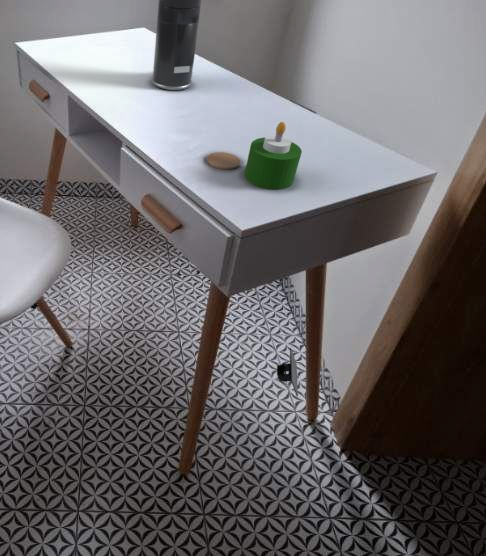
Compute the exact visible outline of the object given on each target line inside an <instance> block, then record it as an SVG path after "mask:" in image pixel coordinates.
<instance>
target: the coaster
mask: <svg viewBox="0 0 486 556" xmlns="http://www.w3.org/2000/svg"><path fill="white" fill-rule="evenodd" d="M206 162H207V164H208V165H209V166H211V167H213V168H216V169H219V170H234V169H237V168H238V167H240V166H241V159H240V158H239V157H238V156H237V155H235V154H233V153H229V152H225V151H216V152H212V153H210V154H208V155H207V156H206Z"/></svg>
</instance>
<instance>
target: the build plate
mask: <svg viewBox="0 0 486 556" xmlns="http://www.w3.org/2000/svg"><path fill="white" fill-rule="evenodd" d="M287 372H288V373H287ZM276 376H277V379H278V382H283V383H285V382H291V384H292V387H293V390H294V393H295V395H296V398H297V397H299V389H298V388H299V387H298V386H299V385H298V366H297V360H296V357H295V355H294V351H293V348H292V347H289V362H288V363H281V364H279V365H278V364H277V365H276Z"/></svg>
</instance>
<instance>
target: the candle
mask: <svg viewBox="0 0 486 556" xmlns="http://www.w3.org/2000/svg"><path fill="white" fill-rule="evenodd" d="M286 129H287V126H286V123H285V122H284V121H280V122H279V123H278V124H277V126H276V128H275V134H270V135H266V136H265V137H258V138H256V139H254V140H252V141H251V143H250V147H249V152H248V157H247V161H246V165H245V169H244V170H245V171H244V178H245V180H247V182H249V183H250V184H252V185H254V186H256V187H258V188H262V189H265V190H274V191H275V190H276V191H277V190H284V189H288V188H290V187H292V186H293V184H294V181H295V177H296V174H297V170H298V167H299V163H300V160H301V157H302V148H301V147H300V146H299V145H298V144H296V143H295V142H293V141H292V140H291V139H289V138H288V137H286V136H284V134H285V132H286Z"/></svg>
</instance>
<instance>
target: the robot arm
mask: <svg viewBox="0 0 486 556" xmlns="http://www.w3.org/2000/svg"><path fill="white" fill-rule="evenodd" d="M201 5H202V0H158V4H157V16H156V17H157V18H156V19H157V20H156V29H155V31H156V32H155V41H154V42H155V44H154V46H155V47H154V55H153V56H154V57H153V66H152V67H153V68H152V69H153V70H152V77H151V83H152V85H153V86H155V87H156V88H159V89H163V90H168V91H184V90H186V89H189V88H190V87H191V86H192V78H193V72H194V71H193V70H194V64H195V63H194V61H195V54H196V47H197V38H198V30H199V22H200V14H201V7H202V6H201Z"/></svg>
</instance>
